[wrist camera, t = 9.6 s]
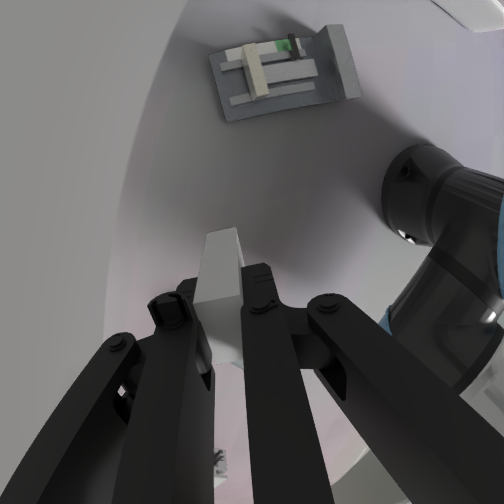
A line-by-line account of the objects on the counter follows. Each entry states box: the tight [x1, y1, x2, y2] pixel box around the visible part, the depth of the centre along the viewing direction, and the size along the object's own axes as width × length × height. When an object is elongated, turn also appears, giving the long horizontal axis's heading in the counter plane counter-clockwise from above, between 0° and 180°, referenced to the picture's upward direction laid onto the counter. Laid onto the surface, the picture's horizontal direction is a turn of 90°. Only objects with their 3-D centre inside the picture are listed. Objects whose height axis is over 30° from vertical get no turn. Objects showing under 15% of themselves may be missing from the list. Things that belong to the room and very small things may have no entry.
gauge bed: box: [208, 24, 362, 123], centre depth 28 cm, size 15×9×6 cm, turn 104°
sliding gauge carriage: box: [240, 34, 318, 101], centre depth 26 cm, size 8×7×6 cm
